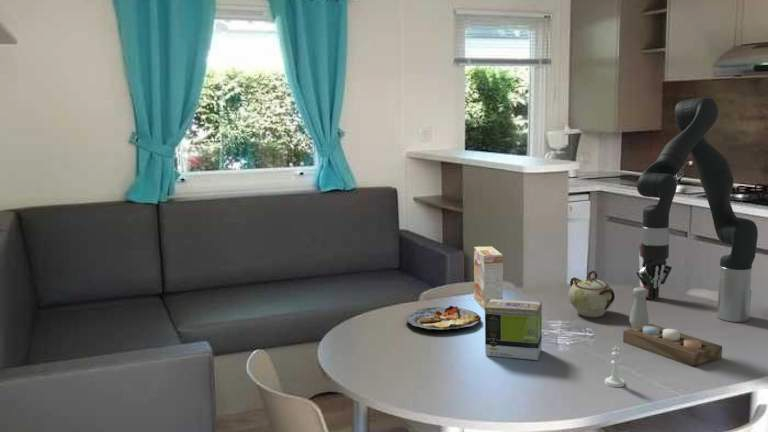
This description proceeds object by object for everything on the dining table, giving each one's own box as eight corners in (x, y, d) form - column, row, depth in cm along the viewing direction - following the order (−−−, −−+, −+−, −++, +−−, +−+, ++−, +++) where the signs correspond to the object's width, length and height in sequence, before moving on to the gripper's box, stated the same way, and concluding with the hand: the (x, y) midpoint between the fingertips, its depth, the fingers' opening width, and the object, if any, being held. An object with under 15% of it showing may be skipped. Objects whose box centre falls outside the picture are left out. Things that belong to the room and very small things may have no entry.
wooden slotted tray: (650, 334, 215) (650, 323, 215) (721, 358, 195) (722, 346, 194) (623, 341, 209) (623, 330, 209) (693, 367, 189) (694, 354, 188)
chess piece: (601, 380, 182) (602, 343, 180) (619, 379, 182) (621, 342, 180) (609, 387, 177) (610, 349, 175) (628, 386, 177) (629, 348, 175)
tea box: (541, 349, 205) (542, 300, 202) (537, 361, 195) (538, 310, 193) (490, 344, 209) (490, 296, 207) (484, 356, 200) (484, 306, 198)
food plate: (462, 309, 246) (462, 300, 245) (493, 329, 224) (493, 319, 223) (395, 317, 238) (395, 307, 237) (420, 339, 216) (420, 328, 216)
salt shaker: (649, 331, 218) (651, 291, 216) (630, 330, 219) (632, 290, 217) (646, 325, 224) (648, 286, 221) (627, 324, 225) (629, 285, 223)
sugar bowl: (629, 317, 232) (631, 273, 230) (596, 325, 225) (597, 279, 223) (586, 303, 249) (587, 262, 247) (554, 310, 242) (554, 267, 240)
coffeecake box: (473, 298, 258) (473, 246, 255) (492, 297, 259) (492, 245, 256) (483, 310, 244) (483, 255, 241) (503, 309, 244) (503, 254, 241)
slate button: (649, 334, 211) (649, 325, 210) (662, 339, 207) (662, 329, 206) (639, 337, 209) (639, 327, 208) (651, 342, 205) (652, 332, 204)
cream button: (669, 337, 205) (669, 327, 204) (683, 342, 201) (683, 332, 200) (658, 340, 202) (659, 330, 202) (672, 345, 198) (672, 335, 198)
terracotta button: (690, 348, 199) (690, 338, 198) (704, 353, 195) (705, 342, 194) (679, 351, 197) (680, 341, 196) (694, 356, 193) (694, 346, 192)
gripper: (659, 236, 209) (657, 292, 212) (629, 242, 203) (627, 300, 206) (681, 240, 203) (679, 298, 206) (650, 247, 196) (648, 306, 199)
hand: (653, 299), depth 206 cm, fingers closed
